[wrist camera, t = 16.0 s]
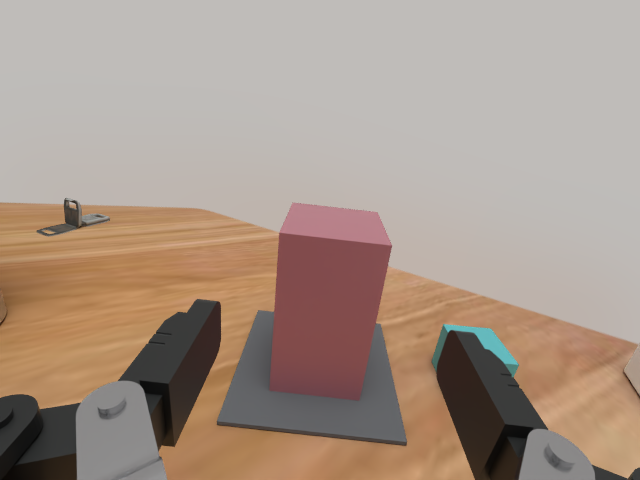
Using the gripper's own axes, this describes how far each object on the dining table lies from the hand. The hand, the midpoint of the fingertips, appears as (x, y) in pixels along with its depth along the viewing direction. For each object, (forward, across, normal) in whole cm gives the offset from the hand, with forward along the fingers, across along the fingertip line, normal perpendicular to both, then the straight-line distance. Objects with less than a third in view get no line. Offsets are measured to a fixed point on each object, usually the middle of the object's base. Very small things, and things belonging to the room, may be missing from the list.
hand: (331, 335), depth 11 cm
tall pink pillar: (+11, 0, +12) cm, 16 cm away
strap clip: (+32, +35, +13) cm, 50 cm away
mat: (+11, 0, +12) cm, 16 cm away
